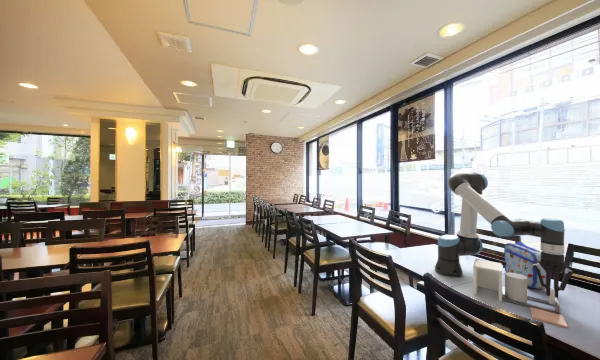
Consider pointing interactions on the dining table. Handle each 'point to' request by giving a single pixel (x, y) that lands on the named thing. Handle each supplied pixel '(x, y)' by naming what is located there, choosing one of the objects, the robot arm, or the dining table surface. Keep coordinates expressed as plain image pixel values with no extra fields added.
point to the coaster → (548, 317)
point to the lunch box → (524, 263)
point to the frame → (556, 306)
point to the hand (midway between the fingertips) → (552, 303)
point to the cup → (516, 287)
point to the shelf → (487, 276)
